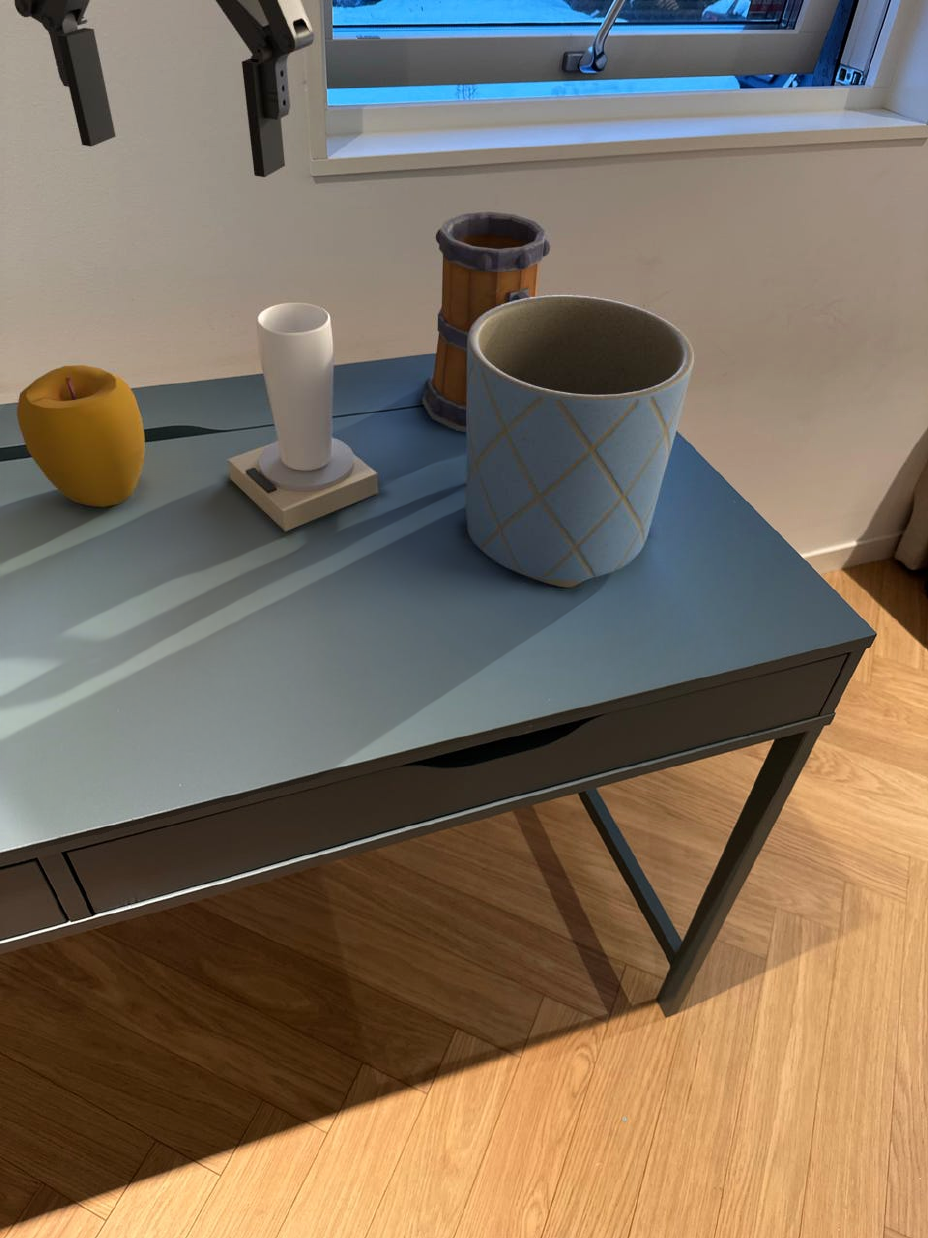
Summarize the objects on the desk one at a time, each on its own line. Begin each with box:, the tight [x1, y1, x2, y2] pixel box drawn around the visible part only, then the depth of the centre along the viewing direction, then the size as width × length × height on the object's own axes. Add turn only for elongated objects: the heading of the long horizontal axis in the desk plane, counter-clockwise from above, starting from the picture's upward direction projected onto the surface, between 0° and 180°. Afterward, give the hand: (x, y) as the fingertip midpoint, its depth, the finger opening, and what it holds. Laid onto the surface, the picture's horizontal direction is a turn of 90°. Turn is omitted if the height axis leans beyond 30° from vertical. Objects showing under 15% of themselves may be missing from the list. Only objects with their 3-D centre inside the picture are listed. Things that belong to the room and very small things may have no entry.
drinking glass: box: [256, 302, 335, 471], centre depth 87 cm, size 7×7×15 cm
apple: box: [16, 364, 146, 508], centre depth 87 cm, size 11×11×13 cm
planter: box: [465, 294, 695, 589], centre depth 83 cm, size 19×19×20 cm
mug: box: [421, 211, 551, 433], centre depth 99 cm, size 19×14×20 cm
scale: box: [227, 436, 379, 532], centre depth 93 cm, size 11×11×3 cm
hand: (182, 155), depth 62 cm, fingers open, 13 cm apart
